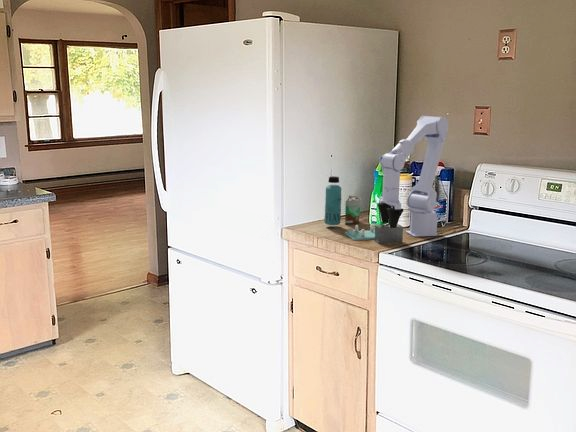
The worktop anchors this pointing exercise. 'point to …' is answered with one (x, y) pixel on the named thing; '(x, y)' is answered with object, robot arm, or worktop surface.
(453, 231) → the worktop surface
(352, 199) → the food container
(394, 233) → the dark grey block
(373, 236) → the tray
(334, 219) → the beverage bottle
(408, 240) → the worktop surface
